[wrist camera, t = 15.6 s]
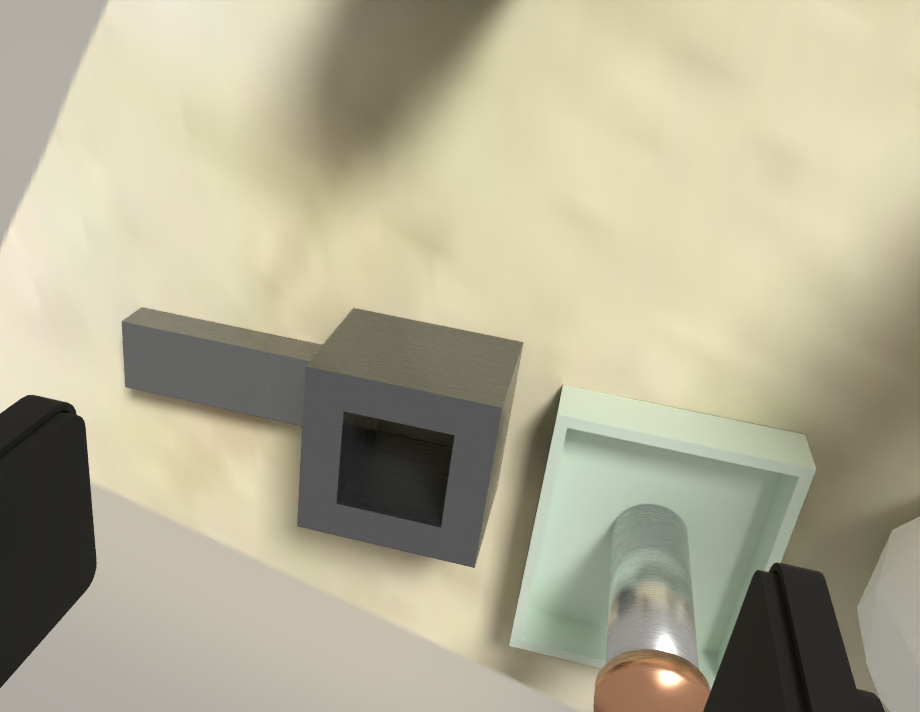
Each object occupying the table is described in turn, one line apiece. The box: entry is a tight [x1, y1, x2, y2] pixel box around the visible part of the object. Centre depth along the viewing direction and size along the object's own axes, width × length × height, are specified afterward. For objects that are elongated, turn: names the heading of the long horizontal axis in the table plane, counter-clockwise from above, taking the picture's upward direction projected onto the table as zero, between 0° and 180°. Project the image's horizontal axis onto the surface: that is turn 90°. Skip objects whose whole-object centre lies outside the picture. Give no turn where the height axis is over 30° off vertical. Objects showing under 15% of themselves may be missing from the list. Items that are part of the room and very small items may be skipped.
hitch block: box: [122, 308, 523, 568], centre depth 43 cm, size 21×9×7 cm, turn 82°
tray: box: [509, 385, 816, 691], centre depth 45 cm, size 15×12×3 cm
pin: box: [594, 504, 710, 712], centre depth 40 cm, size 5×5×12 cm
